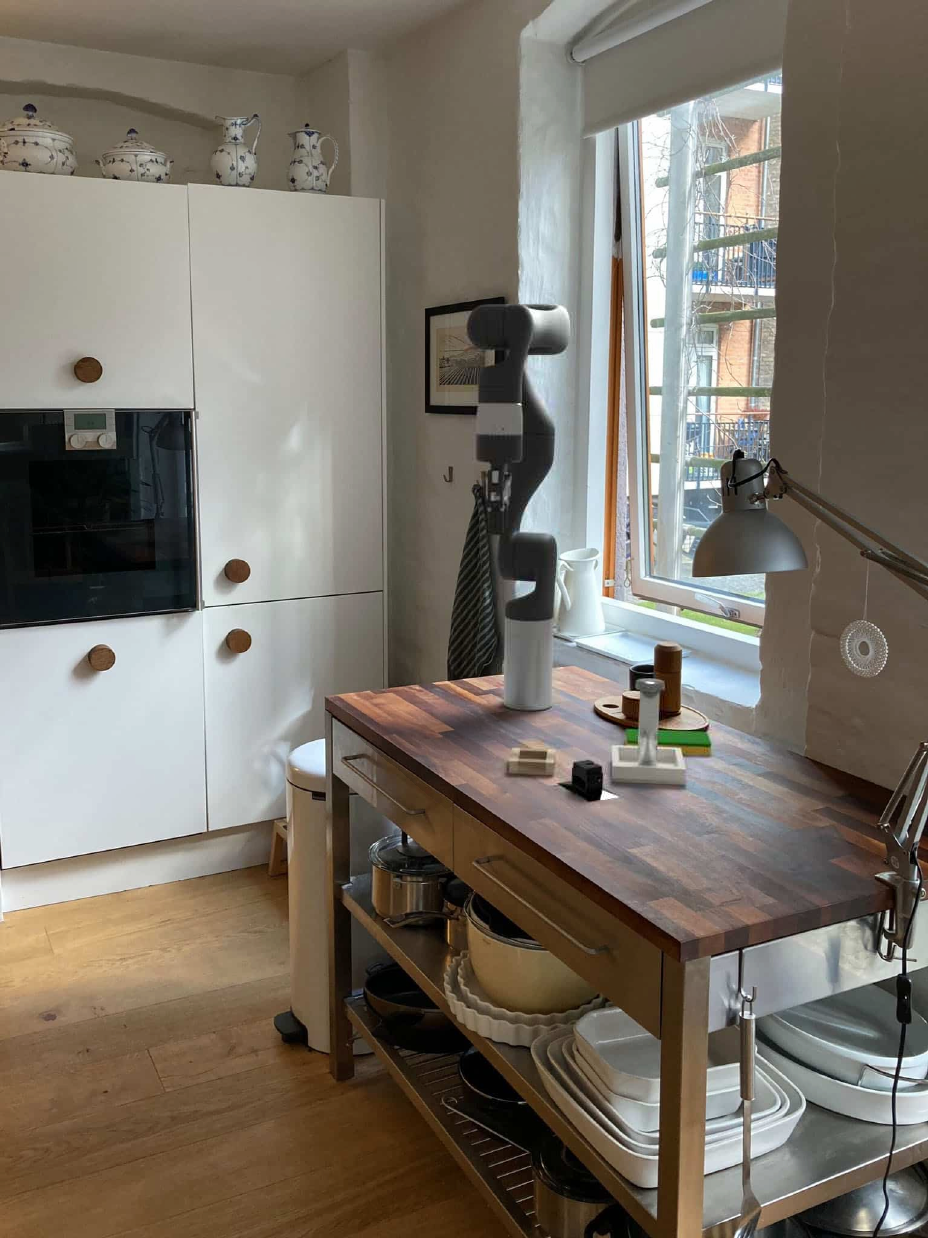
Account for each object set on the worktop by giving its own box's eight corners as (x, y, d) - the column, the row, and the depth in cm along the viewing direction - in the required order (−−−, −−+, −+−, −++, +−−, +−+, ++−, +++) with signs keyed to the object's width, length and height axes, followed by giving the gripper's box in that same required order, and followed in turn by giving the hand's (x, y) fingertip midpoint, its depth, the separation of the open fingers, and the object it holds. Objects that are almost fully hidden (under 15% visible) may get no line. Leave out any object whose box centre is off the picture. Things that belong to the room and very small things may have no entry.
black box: (630, 802, 165) (631, 772, 164) (588, 810, 162) (588, 779, 161) (584, 778, 176) (585, 750, 175) (544, 784, 173) (544, 756, 172)
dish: (611, 760, 183) (611, 745, 183) (679, 762, 182) (680, 748, 181) (612, 781, 172) (612, 766, 172) (685, 785, 171) (686, 769, 171)
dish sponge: (710, 757, 186) (711, 743, 186) (626, 754, 188) (627, 740, 187) (706, 745, 193) (707, 731, 193) (625, 742, 195) (625, 728, 194)
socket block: (512, 759, 183) (512, 747, 183) (555, 761, 182) (555, 749, 182) (509, 773, 176) (509, 761, 176) (553, 775, 175) (554, 762, 175)
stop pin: (632, 763, 179) (635, 678, 177) (660, 764, 179) (663, 679, 176) (633, 772, 175) (636, 684, 173) (661, 773, 175) (665, 685, 172)
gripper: (519, 433, 175) (518, 537, 178) (525, 431, 188) (523, 528, 191) (471, 432, 175) (470, 536, 178) (480, 430, 189) (479, 527, 192)
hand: (498, 532), depth 185 cm, fingers open, 8 cm apart
